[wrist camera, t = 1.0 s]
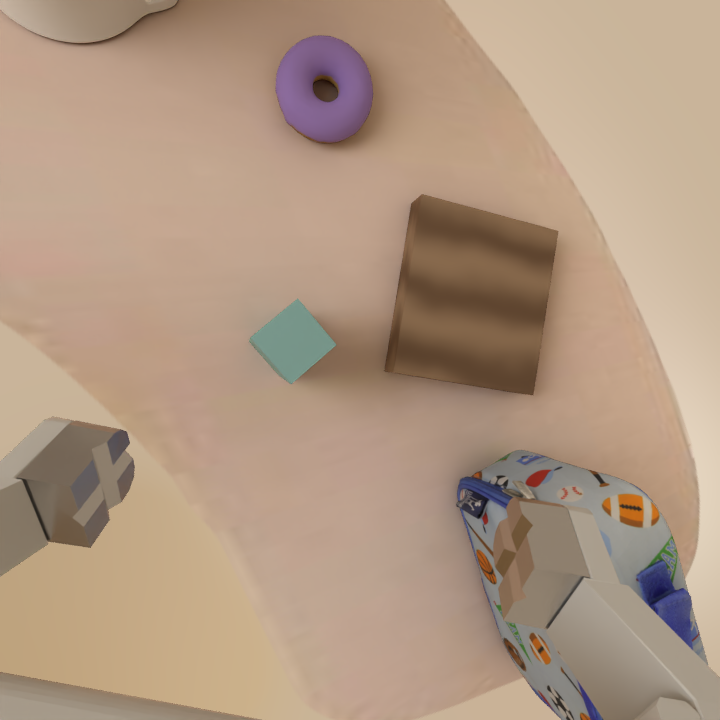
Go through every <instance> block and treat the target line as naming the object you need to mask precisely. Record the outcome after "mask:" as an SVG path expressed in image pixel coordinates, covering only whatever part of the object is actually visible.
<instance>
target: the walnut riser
mask: <svg viewBox="0 0 720 720" xmlns="http://www.w3.org/2000/svg"><path fill="white" fill-rule="evenodd" d="M557 237H558V231H556V230H553V229H549V228H545V227H541V226H538V225H534V224H530V223H527V222H523V221H519V220H516V219H512V218H508V217H504V216H501V215H497V214H493V213H490V212H486V211H482V210H479V209H475V208H471V207H468V206H464V205H460V204H456V203H453V202H449V201H445V200H442V199H438V198H434V197H431V196H427V195H423V194H422V195H421V196H420V197H418V198H417V199H416V200H415V201H414V202H413V203H412V204H411V209H410V216H409V222H408V228H407V234H406V241H405V247H404V253H403V259H402V265H401V272H400V278H399V284H398V290H397V296H396V303H395V309H394V315H393V321H392V328H391V334H390V340H389V346H388V352H387V359H386V365H385V371H387V372H393V373H399V374H405V375H411V376H417V377H424V378H430V379H436V380H442V381H448V382H454V383H460V384H466V385H472V386H478V387H484V388H490V389H497V390H503V391H509V392H515V393H521V394H528V395H533V393H534V387H535V380H536V374H537V367H538V361H539V354H540V348H541V341H542V335H543V328H544V321H545V315H546V308H547V302H548V295H549V289H550V282H551V276H552V269H553V263H554V256H555V250H556V243H557Z"/></svg>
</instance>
